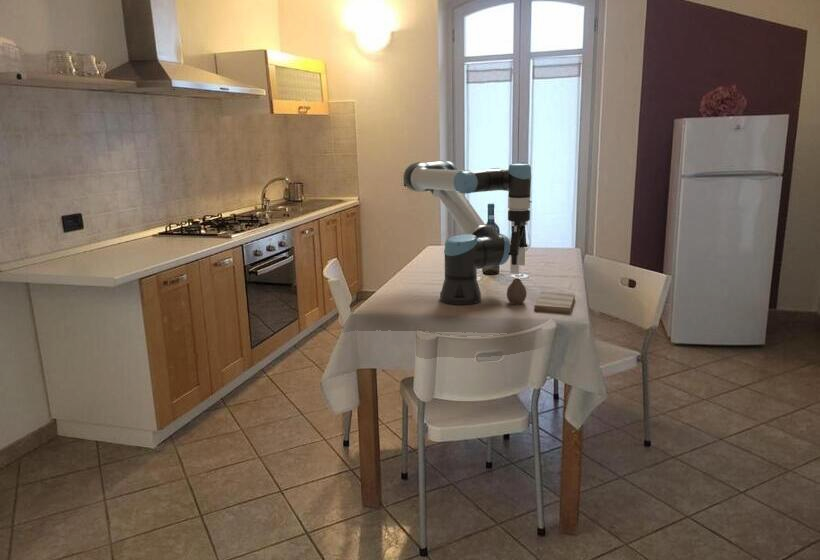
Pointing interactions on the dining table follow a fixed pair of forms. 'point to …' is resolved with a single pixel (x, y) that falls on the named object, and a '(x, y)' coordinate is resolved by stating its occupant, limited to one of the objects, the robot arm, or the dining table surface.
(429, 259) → the dining table surface
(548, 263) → the dining table surface
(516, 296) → the vase
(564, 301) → the walnut board
